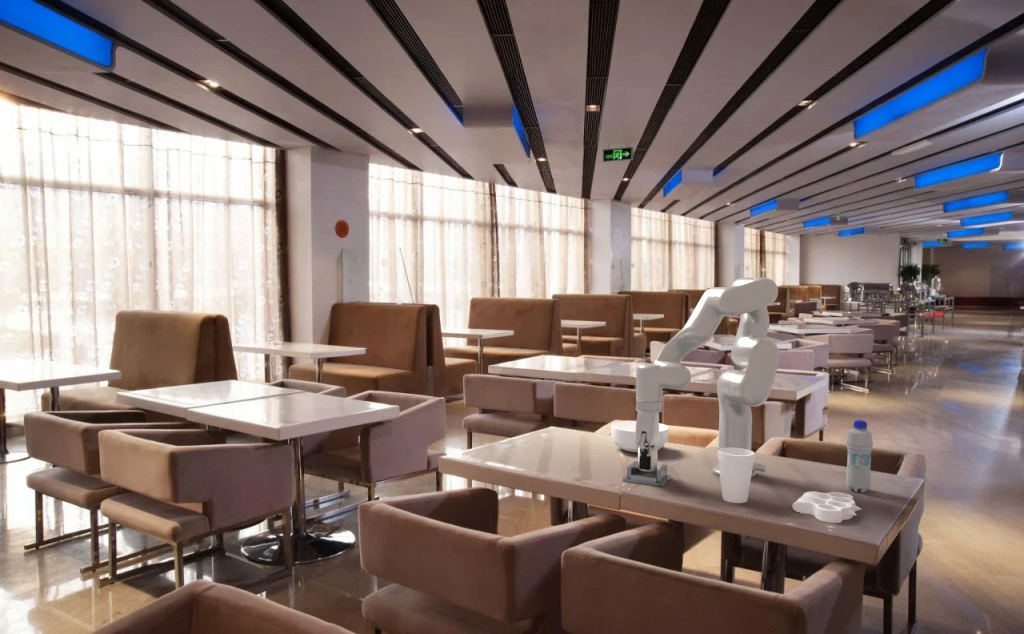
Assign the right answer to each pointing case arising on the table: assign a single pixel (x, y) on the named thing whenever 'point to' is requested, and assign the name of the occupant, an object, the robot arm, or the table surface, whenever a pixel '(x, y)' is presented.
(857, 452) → the bottle
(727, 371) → the robot arm
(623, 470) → the table surface
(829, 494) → the white compartment tray
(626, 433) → the bowl
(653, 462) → the paper roll
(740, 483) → the foam cup
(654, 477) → the roll cradle
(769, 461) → the table surface
